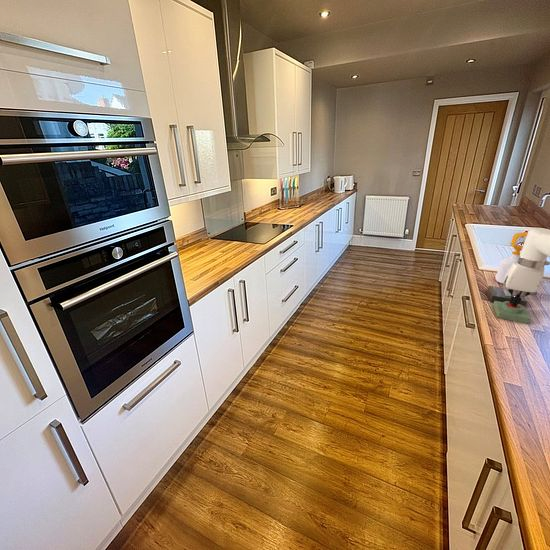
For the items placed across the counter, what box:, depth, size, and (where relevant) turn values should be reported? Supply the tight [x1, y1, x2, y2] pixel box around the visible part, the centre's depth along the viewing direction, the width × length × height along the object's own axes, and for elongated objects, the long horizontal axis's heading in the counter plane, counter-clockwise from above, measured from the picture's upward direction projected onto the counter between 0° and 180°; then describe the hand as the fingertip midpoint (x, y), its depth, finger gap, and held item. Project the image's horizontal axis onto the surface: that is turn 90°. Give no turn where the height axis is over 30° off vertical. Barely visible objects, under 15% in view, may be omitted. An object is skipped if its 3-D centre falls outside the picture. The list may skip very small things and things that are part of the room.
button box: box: [492, 301, 532, 324], centre depth 115 cm, size 10×10×4 cm
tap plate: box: [486, 285, 528, 308], centre depth 125 cm, size 12×10×3 cm
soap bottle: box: [494, 231, 529, 285], centre depth 135 cm, size 9×9×25 cm
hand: (513, 304), depth 114 cm, fingers closed
